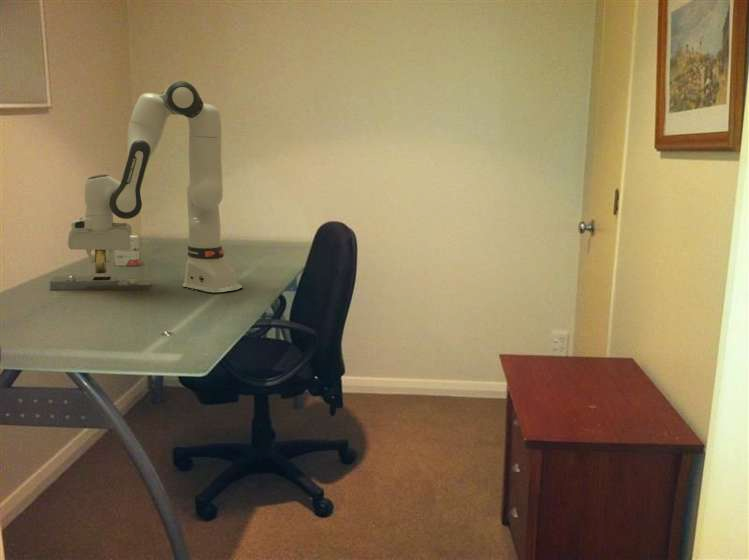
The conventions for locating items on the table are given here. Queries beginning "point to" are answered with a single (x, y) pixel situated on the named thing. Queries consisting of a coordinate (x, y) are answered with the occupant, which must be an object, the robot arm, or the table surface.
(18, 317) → the table surface
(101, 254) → the brass pin
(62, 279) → the latch strike plate
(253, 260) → the table surface
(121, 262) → the ink box
